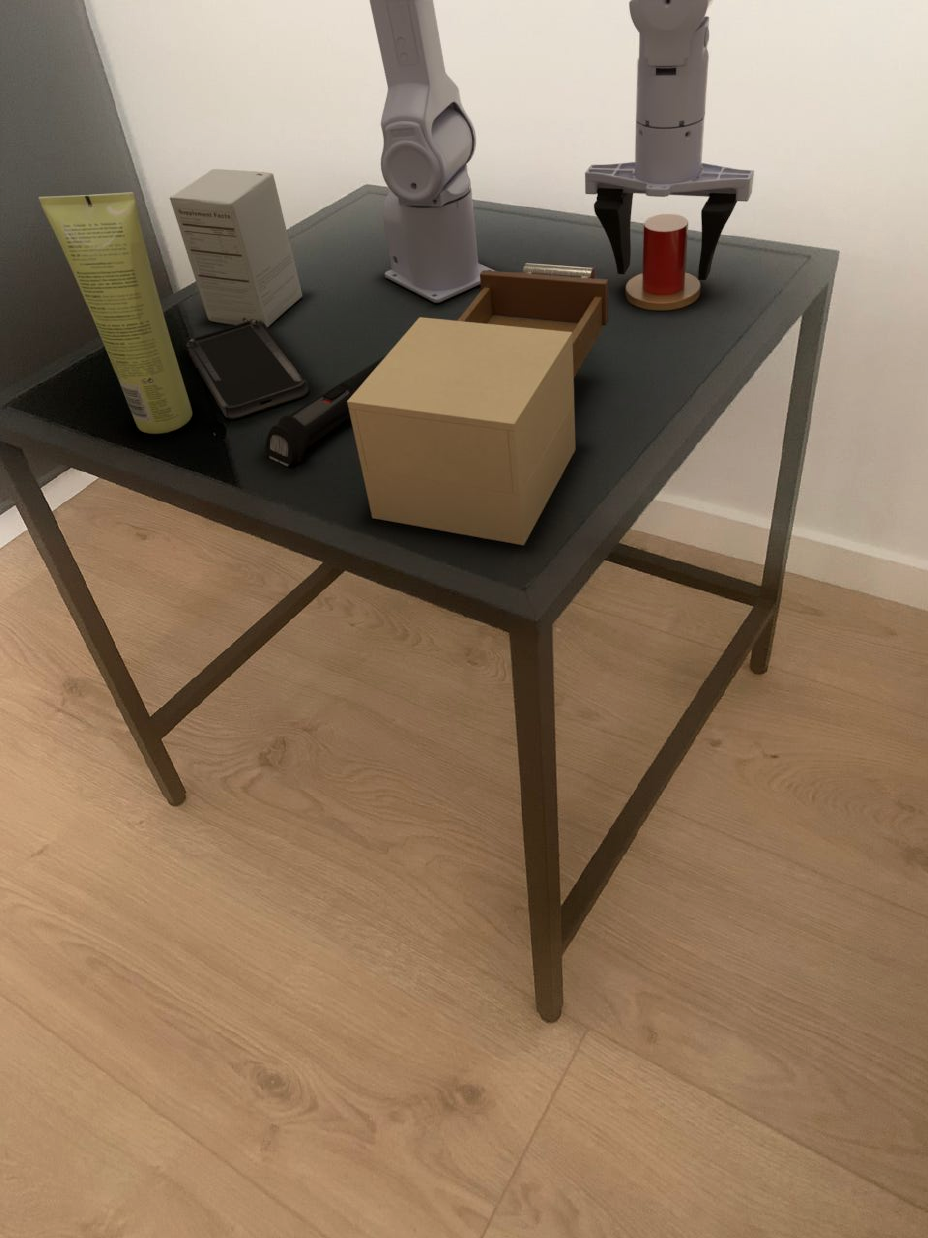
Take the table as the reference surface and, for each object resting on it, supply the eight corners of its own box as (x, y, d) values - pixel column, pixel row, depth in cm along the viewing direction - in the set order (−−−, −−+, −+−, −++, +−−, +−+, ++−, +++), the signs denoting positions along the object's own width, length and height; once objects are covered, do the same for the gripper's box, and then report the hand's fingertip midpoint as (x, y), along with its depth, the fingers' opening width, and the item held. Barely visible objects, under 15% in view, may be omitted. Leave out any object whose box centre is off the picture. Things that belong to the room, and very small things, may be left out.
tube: (186, 396, 87) (109, 173, 73) (209, 418, 84) (132, 190, 70) (128, 420, 85) (37, 196, 71) (149, 444, 82) (58, 214, 68)
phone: (259, 317, 94) (309, 382, 84) (262, 328, 95) (312, 393, 84) (182, 341, 92) (223, 410, 82) (185, 352, 93) (227, 422, 82)
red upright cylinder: (633, 286, 91) (634, 224, 87) (662, 272, 93) (665, 210, 89) (663, 299, 89) (666, 235, 85) (693, 284, 90) (697, 220, 86)
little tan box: (435, 429, 78) (419, 316, 72) (575, 449, 74) (572, 331, 67) (372, 518, 71) (346, 401, 64) (524, 545, 67) (514, 423, 60)
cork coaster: (610, 295, 92) (610, 287, 92) (661, 270, 95) (661, 262, 94) (663, 318, 88) (663, 310, 87) (715, 291, 91) (716, 283, 90)
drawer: (504, 292, 85) (500, 248, 82) (622, 302, 81) (623, 256, 78) (433, 383, 75) (426, 337, 72) (565, 400, 71) (563, 351, 68)
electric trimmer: (422, 383, 84) (418, 351, 82) (294, 470, 76) (285, 436, 74) (392, 373, 86) (386, 340, 84) (263, 455, 78) (254, 422, 76)
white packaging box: (246, 289, 102) (212, 166, 93) (304, 297, 99) (275, 170, 90) (205, 322, 97) (166, 195, 88) (265, 331, 94) (231, 201, 86)
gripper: (573, 131, 80) (576, 285, 90) (748, 135, 75) (732, 298, 85) (597, 103, 85) (598, 253, 94) (764, 106, 80) (747, 263, 89)
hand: (663, 272), depth 90 cm, fingers open, 7 cm apart
